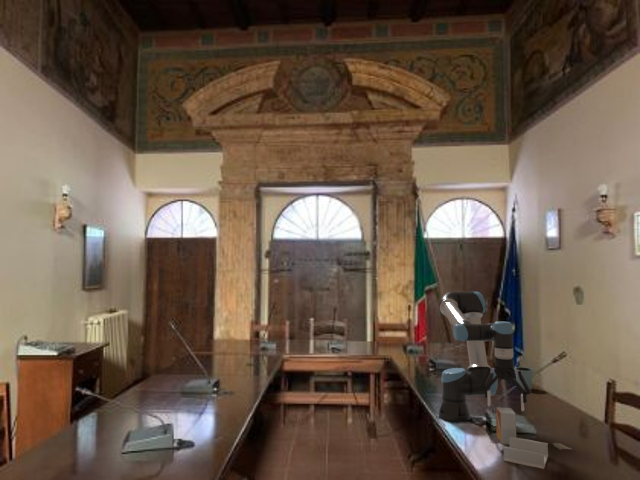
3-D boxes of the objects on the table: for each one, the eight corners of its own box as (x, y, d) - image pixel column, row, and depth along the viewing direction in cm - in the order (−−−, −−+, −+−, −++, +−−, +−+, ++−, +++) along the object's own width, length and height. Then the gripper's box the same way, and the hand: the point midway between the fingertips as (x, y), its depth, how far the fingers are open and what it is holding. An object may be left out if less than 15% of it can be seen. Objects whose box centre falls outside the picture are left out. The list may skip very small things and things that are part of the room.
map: (557, 443, 193) (557, 441, 193) (604, 462, 174) (604, 460, 174) (549, 445, 191) (548, 443, 191) (595, 465, 172) (594, 462, 173)
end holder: (503, 460, 176) (503, 447, 176) (510, 448, 187) (509, 436, 187) (544, 468, 168) (543, 455, 169) (548, 456, 180) (547, 443, 180)
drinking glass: (530, 386, 286) (529, 367, 287) (536, 390, 276) (535, 370, 277) (513, 386, 287) (512, 366, 288) (518, 390, 277) (518, 370, 278)
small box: (496, 437, 200) (495, 407, 201) (511, 438, 199) (510, 407, 200) (501, 444, 192) (500, 412, 193) (516, 445, 191) (516, 413, 192)
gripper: (472, 356, 201) (473, 405, 200) (534, 361, 188) (536, 414, 186) (476, 353, 208) (478, 401, 206) (536, 359, 194) (538, 410, 193)
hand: (505, 407), depth 196 cm, fingers open, 13 cm apart
